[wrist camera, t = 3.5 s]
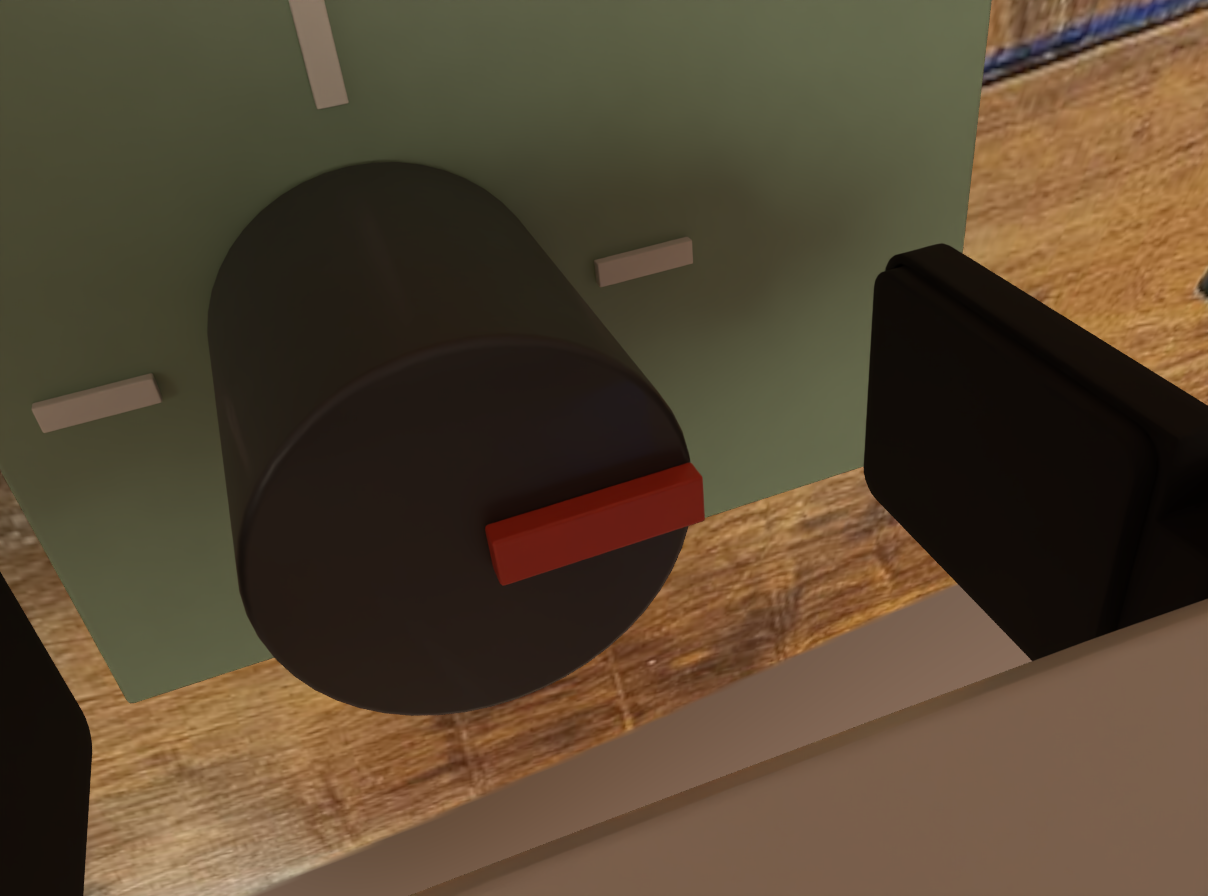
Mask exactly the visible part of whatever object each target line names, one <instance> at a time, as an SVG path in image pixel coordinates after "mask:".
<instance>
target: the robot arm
mask: <svg viewBox="0 0 1208 896" xmlns="http://www.w3.org/2000/svg"><path fill="white" fill-rule="evenodd" d="M864 475H865V480H866V482H867V485H868V488H869V489H870V491H871V493H872V495H873V496H874V497H875V498H876V500H877V501H878V502H879V503H880V504H881V505H882V506H883V507H884V508H885V509H886V510H887V511H888V512H889V513H890V514H891V515H892V516H893V517H894V518H895V519H896V520H897V521H898V522H899V523H900V524H901V525H902V527H903V528H904V529H905V530H906V531H907V532H908V533H909V534H910V535H911V536H912V537H913V538H914V539H915V540H916V541H917V542H918V543H919V544H920V545H921V546H922V547H923V548H924V549H925V550H926V551H927V552H928V553H929V554H930V556H931V557H932V558H933V559H934V560H935V561H936V562H937V563H938V564H939V565H940V566H941V567H942V568H943V569H944V570H945V571H946V572H947V573H948V574H949V575H950V576H951V577H952V578H953V579H954V580H955V581H956V582H957V583H958V585H959V586H960V587H961V588H962V589H963V590H964V591H965V592H966V593H967V594H968V595H969V596H970V597H971V598H972V599H973V600H974V601H975V602H976V603H977V604H978V605H979V606H980V607H981V608H982V609H983V610H984V611H985V612H986V613H987V614H988V616H990V618H991V619H992V620H993V621H994V622H995V623H996V624H997V625H998V626H999V627H1000V628H1001V629H1002V630H1003V631H1004V632H1005V633H1006V634H1007V635H1008V636H1009V637H1010V638H1011V639H1012V640H1013V641H1014V642H1015V643H1016V645H1017V646H1019V648H1020V649H1021V650H1022V651H1023V652H1024V653H1025V654H1026V655H1027V656H1028V657H1029V658H1030V659H1031V660H1032V662H1029V663H1027V664H1024V665H1021V666H1018V667H1016V668H1013V669H1010V670H1008V671H1005V672H1002V673H999V674H997V675H994V676H992V677H989V678H986V679H983V680H981V681H978V682H975V683H973V684H970V685H967V686H964V687H962V688H959V689H956V690H954V691H951V692H948V693H945V694H943V695H940V696H937V697H935V698H932V699H929V700H927V701H924V702H921V703H919V704H916V705H913V706H910V707H908V708H905V709H902V710H899V711H897V712H894V713H891V714H889V715H886V716H883V717H881V718H878V719H875V720H873V721H870V722H867V723H864V724H862V725H859V726H857V727H854V728H851V729H848V730H846V731H843V732H840V733H838V734H835V735H832V736H830V737H827V738H824V739H822V740H819V741H816V742H814V743H811V744H808V745H806V746H803V747H801V748H798V749H795V750H793V751H790V752H787V753H784V754H782V755H779V756H776V757H774V758H771V759H769V760H766V761H763V762H760V763H758V764H755V765H752V766H750V767H747V768H744V769H742V770H739V771H737V772H734V773H731V774H728V775H726V776H723V777H720V778H718V779H715V780H712V781H710V782H707V783H705V784H702V785H699V786H697V787H694V788H691V789H689V790H686V791H683V792H681V793H678V794H676V795H673V796H670V797H667V798H665V799H662V800H659V801H657V802H654V803H652V804H649V805H646V806H644V807H641V808H638V809H636V810H633V811H630V812H628V813H625V814H622V815H620V816H617V817H615V818H612V819H609V820H606V821H604V822H601V823H598V824H596V825H593V826H591V827H588V828H585V829H583V830H580V831H577V832H575V833H572V834H569V835H567V836H564V837H562V838H559V839H556V840H553V841H551V842H548V843H546V844H543V845H540V846H538V847H535V848H532V849H530V850H527V851H525V852H522V853H520V854H517V855H514V856H512V857H509V858H507V859H504V860H501V861H498V862H496V863H493V864H491V865H488V866H485V867H483V868H480V869H478V870H475V871H472V872H470V873H467V874H464V875H462V876H459V877H457V878H454V879H451V880H449V881H446V882H444V883H441V884H439V885H436V886H433V887H430V888H428V889H425V890H423V891H420V892H418V893H415V894H412V895H410V896H1208V406H1207V405H1206V404H1204V403H1203V402H1201V401H1199V400H1198V399H1196V398H1194V397H1193V396H1191V395H1190V394H1188V393H1186V392H1185V391H1183V390H1182V389H1180V388H1178V387H1177V386H1175V385H1174V384H1172V383H1170V382H1169V381H1167V380H1165V379H1164V378H1162V377H1161V376H1159V375H1157V374H1156V373H1154V372H1153V371H1151V370H1149V369H1148V368H1146V367H1145V366H1143V365H1141V364H1140V363H1138V362H1136V361H1135V360H1133V359H1132V358H1130V357H1128V356H1127V355H1125V354H1124V353H1122V352H1120V351H1119V350H1117V349H1116V348H1114V347H1112V346H1111V345H1109V344H1107V343H1106V342H1104V341H1103V340H1101V339H1099V338H1098V337H1096V336H1095V335H1093V334H1091V333H1090V332H1088V331H1087V330H1085V329H1083V328H1082V327H1080V326H1078V325H1077V324H1075V323H1074V322H1072V321H1070V320H1069V319H1067V318H1066V317H1064V316H1062V315H1061V314H1059V313H1058V312H1056V311H1054V310H1053V309H1051V308H1049V307H1048V306H1046V305H1045V304H1043V303H1041V302H1040V301H1038V300H1037V299H1035V298H1033V297H1032V296H1030V295H1029V294H1027V293H1025V292H1024V291H1022V290H1020V289H1019V288H1017V287H1016V286H1014V285H1012V284H1011V283H1009V282H1008V281H1006V280H1004V279H1003V278H1001V277H1000V276H998V275H996V274H995V273H993V272H991V271H990V270H988V269H987V268H985V267H983V266H982V265H980V264H979V263H977V262H975V261H974V260H972V259H970V258H969V257H967V256H966V255H964V254H962V253H961V252H959V251H958V250H956V249H954V248H953V247H951V246H949V245H947V244H944V243H940V244H935V245H931V246H927V247H924V248H920V249H916V250H912V251H909V252H905V253H901V254H897V255H894V256H893V257H892V258H891V259H890V260H889V261H888V263H887V266H886V268H885V271H884V272H881V273H880V274H879V275H878V276H877V278H876V280H875V284H874V293H873V311H872V328H871V345H870V363H869V380H868V398H867V415H866V433H865V450H864ZM91 762H92V741H91V735H90V730H89V726H88V724H87V721H86V718H85V716H84V714H83V712H82V710H81V708H80V707H79V705H78V703H77V701H76V700H75V698H74V696H73V695H72V693H71V691H70V690H69V688H68V686H67V684H66V683H65V681H64V679H63V678H62V676H61V674H60V673H59V671H58V669H57V667H56V666H55V664H54V662H53V661H52V659H51V657H50V655H49V654H48V652H47V650H46V649H45V647H44V645H43V644H42V642H41V640H40V638H39V637H38V635H37V633H36V632H35V630H34V628H33V627H32V625H31V623H30V621H29V620H28V618H27V616H26V615H25V613H24V611H23V610H22V608H21V606H20V604H19V603H18V601H17V599H16V598H15V596H14V594H13V593H12V591H11V589H10V587H9V586H8V584H7V582H6V581H5V579H4V577H3V576H2V574H1V572H0V896H83V891H84V875H85V859H86V842H87V826H88V810H89V794H90V778H91Z"/></svg>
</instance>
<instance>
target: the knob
mask: <svg viewBox="0 0 1208 896" xmlns="http://www.w3.org/2000/svg"><path fill="white" fill-rule="evenodd" d="M207 336H208V344H209V352H210V360H211V368H212V376H213V384H214V392H215V401H216V409H217V417H218V425H219V433H220V441H221V449H222V457H223V465H224V473H225V481H226V489H227V497H228V505H229V514H230V522H231V530H232V538H233V546H234V554H235V562H236V570H237V578H238V586H239V592H240V596H241V599H242V602H243V605H244V608H245V611H246V615H247V617H248V619H249V621H250V622H251V624H252V626H253V628H254V630H255V632H256V634H257V636H258V637H259V639H260V640H261V641H262V643H263V644H264V645H265V646H266V648H267V649H268V650H269V652H270V653H271V654H272V656H273V657H274V658H275V659H276V660H277V661H279V662H280V663H281V664H282V665H283V666H284V667H285V668H286V669H287V670H288V671H289V672H290V673H292V674H293V675H294V676H295V677H296V678H298V679H299V680H301V681H302V682H304V683H305V684H307V685H308V686H310V687H311V688H313V689H314V690H316V691H318V692H321V693H323V694H325V695H327V696H329V697H331V698H333V699H335V700H337V701H340V702H343V703H346V704H349V705H352V706H355V707H358V708H362V709H367V710H372V711H377V712H382V713H389V714H400V715H411V716H413V715H443V714H452V713H461V712H467V711H472V710H477V709H482V708H487V707H491V706H494V705H498V704H501V703H504V702H508V701H511V700H514V699H517V698H520V697H522V696H525V695H527V694H530V693H532V692H535V691H537V690H540V689H542V688H544V687H546V686H548V685H550V684H552V683H554V682H556V681H558V680H560V679H562V678H564V677H566V676H567V675H569V674H570V673H572V672H574V671H575V670H577V669H578V668H580V667H582V666H583V665H585V664H586V663H588V662H589V661H591V660H592V659H593V658H595V657H596V656H597V655H599V654H600V653H601V652H603V651H604V650H605V649H607V648H608V647H609V646H610V645H611V644H612V643H614V642H615V641H616V640H617V639H618V638H619V637H620V636H621V635H622V634H623V633H625V632H626V631H627V630H628V629H629V628H630V627H631V626H632V624H633V623H634V622H635V621H636V620H637V619H638V618H639V617H640V616H641V615H642V613H643V612H644V611H645V610H646V609H647V607H648V606H649V605H650V603H651V602H652V601H653V599H654V598H655V597H656V595H657V594H658V593H659V591H660V590H661V588H662V586H663V584H664V583H665V581H666V579H667V578H668V576H669V574H670V573H671V571H672V569H673V567H674V564H675V562H676V560H677V558H678V555H679V553H680V551H681V549H682V546H683V542H684V539H685V536H686V533H687V529H688V526H689V525H692V524H695V523H698V522H701V521H703V520H704V519H705V512H704V493H703V477H702V476H701V474H700V473H699V472H698V471H697V469H696V468H695V467H694V465H693V464H692V463H691V462H690V455H689V451H688V447H687V444H686V441H685V438H684V435H683V431H682V429H681V427H680V425H679V423H678V421H677V419H676V417H675V415H674V413H673V411H672V410H671V408H670V407H669V406H668V404H667V403H666V402H665V400H664V399H663V398H662V396H661V395H660V394H659V392H658V391H657V390H656V388H655V387H654V386H653V385H652V383H651V382H650V381H649V380H648V379H647V377H646V376H645V375H644V374H643V372H642V371H641V370H640V369H639V367H638V366H637V365H636V364H635V362H634V361H633V360H632V359H631V358H630V356H629V355H628V354H627V353H626V351H625V350H624V349H623V348H622V346H621V345H620V344H619V343H618V341H617V340H616V339H615V338H614V336H613V335H612V334H611V333H610V332H609V330H608V329H607V328H606V327H605V325H604V324H603V323H602V322H601V320H600V319H599V318H598V317H597V315H596V314H595V313H594V312H593V311H592V309H591V308H590V307H589V306H588V304H587V303H586V302H585V301H584V299H583V298H582V297H581V296H580V294H579V293H578V292H577V291H576V289H575V288H574V287H573V286H572V285H571V283H570V282H569V281H568V280H567V278H566V277H565V276H564V275H563V273H562V272H561V271H560V270H559V268H558V267H557V266H556V265H555V263H554V262H553V261H552V260H551V259H550V257H549V256H548V255H547V254H546V252H545V251H544V250H543V249H542V247H541V246H540V245H539V244H538V242H537V241H536V240H535V239H534V238H533V236H532V235H531V234H530V233H529V231H528V230H527V229H526V228H525V226H524V225H523V224H522V223H521V221H520V220H519V219H518V218H517V217H516V216H515V215H514V214H513V213H512V212H511V211H510V210H509V209H508V208H507V207H506V206H505V205H504V204H503V203H502V202H501V201H500V200H499V199H497V198H496V197H495V196H493V195H492V194H491V193H489V192H488V191H487V190H485V189H484V188H482V187H480V186H478V185H476V184H475V183H473V182H471V181H469V180H467V179H466V178H463V177H461V176H458V175H455V174H453V173H450V172H448V171H445V170H442V169H437V168H433V167H429V166H425V165H421V164H411V163H402V162H377V163H367V164H360V165H354V166H348V167H344V168H341V169H337V170H334V171H330V172H327V173H324V174H321V175H319V176H317V177H314V178H312V179H310V180H308V181H305V182H303V183H301V184H299V185H297V186H296V187H294V188H292V189H291V190H289V191H287V192H286V193H284V194H282V195H281V196H279V197H278V198H277V199H276V200H274V201H273V202H272V203H271V204H269V205H268V206H267V207H266V208H264V209H263V210H262V211H261V212H260V213H259V214H258V215H257V216H256V217H255V218H254V219H253V220H252V221H251V222H250V223H249V224H248V225H247V226H246V227H245V228H244V229H243V231H242V232H241V234H240V235H239V236H238V238H237V239H236V241H235V242H234V243H233V245H232V246H231V248H230V249H229V251H228V253H227V255H226V257H225V259H224V261H223V263H222V265H221V267H220V268H219V271H218V274H217V277H216V280H215V283H214V286H213V288H212V292H211V298H210V303H209V309H208V325H207Z"/></svg>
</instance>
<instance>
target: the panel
mask: <svg viewBox="0 0 1208 896" xmlns="http://www.w3.org/2000/svg"><path fill="white" fill-rule="evenodd" d="M991 1H992V0H0V471H1V472H2V474H3V476H4V478H5V480H6V482H7V483H8V485H9V487H10V489H11V491H12V492H13V494H14V496H15V498H16V500H17V502H18V503H19V505H20V507H21V509H22V511H23V512H24V514H25V516H26V518H27V520H28V522H29V523H30V525H31V527H32V529H33V531H34V533H35V534H36V536H37V538H38V540H39V542H40V543H41V545H42V547H43V549H44V551H45V553H46V554H47V556H48V558H49V560H50V562H51V563H52V565H53V567H54V569H55V571H56V573H57V574H58V576H59V578H60V580H61V582H62V583H63V585H64V587H65V589H66V591H67V593H68V594H69V596H70V598H71V600H72V602H73V603H74V605H75V607H76V609H77V611H78V613H79V614H80V616H81V618H82V620H83V622H84V623H85V625H86V627H87V629H88V631H89V633H90V634H91V636H92V638H93V640H94V642H95V643H96V645H97V647H98V649H99V651H100V653H101V654H102V656H103V658H104V660H105V662H106V663H107V665H108V667H109V669H110V671H111V673H112V674H113V676H114V678H115V680H116V682H117V683H118V685H119V687H120V689H121V691H122V693H123V694H124V696H125V698H126V700H127V701H128V702H129V703H136V702H139V701H142V700H145V699H148V698H151V697H154V696H157V695H160V694H163V693H167V692H170V691H173V690H176V689H179V688H182V687H185V686H188V685H191V684H194V683H197V682H200V681H204V680H207V679H210V678H213V677H216V676H219V675H222V674H225V673H228V672H231V671H234V670H237V669H240V668H244V667H247V666H250V665H253V664H256V663H259V662H262V661H265V660H268V659H271V658H274V657H273V656H272V654H271V653H270V652H269V650H268V649H267V648H266V646H265V645H264V644H263V643H262V641H261V640H260V639H259V637H258V636H257V634H256V632H255V630H254V628H253V626H252V624H251V622H250V621H249V619H248V617H247V615H246V611H245V608H244V605H243V602H242V599H241V596H240V592H239V586H238V578H237V570H236V562H235V554H234V546H233V538H232V530H231V522H230V514H229V505H228V497H227V489H226V481H225V473H224V465H223V457H222V449H221V441H220V433H219V425H218V417H217V409H216V401H215V392H214V384H213V376H212V368H211V360H210V352H209V344H208V336H207V325H208V309H209V303H210V298H211V292H212V288H213V286H214V283H215V280H216V277H217V274H218V271H219V268H220V267H221V265H222V263H223V261H224V259H225V257H226V255H227V253H228V251H229V249H230V248H231V246H232V245H233V243H234V242H235V241H236V239H237V238H238V236H239V235H240V234H241V232H242V231H243V229H244V228H245V227H246V226H247V225H248V224H249V223H250V222H251V221H252V220H253V219H254V218H255V217H256V216H257V215H258V214H259V213H260V212H261V211H262V210H263V209H264V208H266V207H267V206H268V205H269V204H271V203H272V202H273V201H274V200H276V199H277V198H278V197H279V196H281V195H282V194H284V193H286V192H287V191H289V190H291V189H292V188H294V187H296V186H297V185H299V184H301V183H303V182H305V181H308V180H310V179H312V178H314V177H317V176H319V175H321V174H324V173H327V172H330V171H334V170H337V169H341V168H344V167H348V166H354V165H360V164H367V163H377V162H402V163H411V164H421V165H425V166H429V167H433V168H437V169H442V170H445V171H448V172H450V173H453V174H455V175H458V176H461V177H463V178H466V179H467V180H469V181H471V182H473V183H475V184H476V185H478V186H480V187H482V188H484V189H485V190H487V191H488V192H489V193H491V194H492V195H493V196H495V197H496V198H497V199H499V200H500V201H501V202H502V203H503V204H504V205H505V206H506V207H507V208H508V209H509V210H510V211H511V212H512V213H513V214H514V215H515V216H516V217H517V218H518V219H519V220H520V221H521V223H522V224H523V225H524V226H525V228H526V229H527V230H528V231H529V233H530V234H531V235H532V236H533V238H534V239H535V240H536V241H537V242H538V244H539V245H540V246H541V247H542V249H543V250H544V251H545V252H546V254H547V255H548V256H549V257H550V259H551V260H552V261H553V262H554V263H555V265H556V266H557V267H558V268H559V270H560V271H561V272H562V273H563V275H564V276H565V277H566V278H567V280H568V281H569V282H570V283H571V285H572V286H573V287H574V288H575V289H576V291H577V292H578V293H579V294H580V296H581V297H582V298H583V299H584V301H585V302H586V303H587V304H588V306H589V307H590V308H591V309H592V311H593V312H594V313H595V314H596V315H597V317H598V318H599V319H600V320H601V322H602V323H603V324H604V325H605V327H606V328H607V329H608V330H609V332H610V333H611V334H612V335H613V336H614V338H615V339H616V340H617V341H618V343H619V344H620V345H621V346H622V348H623V349H624V350H625V351H626V353H627V354H628V355H629V356H630V358H631V359H632V360H633V361H634V362H635V364H636V365H637V366H638V367H639V369H640V370H641V371H642V372H643V374H644V375H645V376H646V377H647V379H648V380H649V381H650V382H651V383H652V385H653V386H654V387H655V388H656V390H657V391H658V392H659V394H660V395H661V396H662V398H663V399H664V400H665V402H666V403H667V404H668V406H669V407H670V408H671V410H672V411H673V413H674V415H675V417H676V419H677V421H678V423H679V425H680V427H681V429H682V431H683V435H684V438H685V441H686V444H687V447H688V451H689V455H690V462H691V463H692V464H693V465H694V467H695V468H696V469H697V471H698V472H699V473H700V474H701V476H702V477H703V493H704V512H705V518H706V517H709V516H712V515H715V514H718V513H721V512H724V511H727V510H731V509H734V508H737V507H740V506H743V505H746V504H749V503H752V502H755V501H758V500H761V499H764V498H768V497H771V496H774V495H777V494H780V493H783V492H786V491H789V490H792V489H795V488H798V487H801V486H804V485H808V484H811V483H814V482H817V481H820V480H823V479H826V478H829V477H832V476H835V475H838V474H841V473H845V472H848V471H851V470H854V469H857V468H860V467H863V466H864V450H865V433H866V415H867V398H868V380H869V363H870V345H871V328H872V311H873V293H874V284H875V280H876V278H877V276H878V275H879V274H880V273H881V272H884V271H885V268H886V266H887V263H888V261H889V260H890V259H891V258H892V257H893V256H894V255H897V254H901V253H905V252H909V251H912V250H916V249H920V248H924V247H927V246H931V245H935V244H940V243H944V244H947V245H949V246H951V247H953V248H954V249H956V250H958V251H959V252H961V253H963V245H964V236H965V227H966V219H967V210H968V201H969V193H970V184H971V175H972V166H973V158H974V149H975V140H976V132H977V123H978V114H979V106H980V97H981V88H982V79H983V71H984V62H985V53H986V45H987V36H988V27H989V19H990V10H991Z"/></svg>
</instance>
